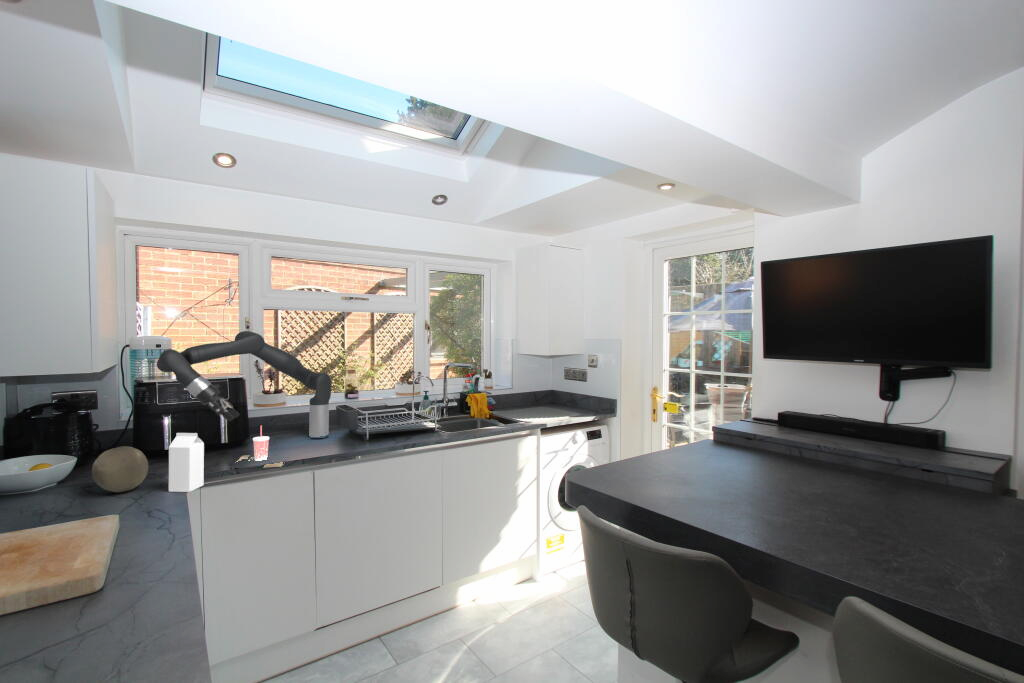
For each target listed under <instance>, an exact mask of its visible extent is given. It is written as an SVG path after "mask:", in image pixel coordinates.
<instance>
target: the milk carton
mask: <svg viewBox="0 0 1024 683" xmlns="http://www.w3.org/2000/svg"><path fill="white" fill-rule="evenodd" d="M204 456H205V443H204V441H203V440H202V439H201V438H200V437H199V436H198V433H197V432H176V436H175V438H174V439H173V440H172V442H171V443H170V445H169V446H168V492H171V493H172V492H173V493H174V492H175V493H190V492H192V491H194V490H196V489H199V488H200V487H201V488H202V487H203V486H204V480H205V477H204V476H205V474H204V472H205V470H204V468H205V463H204V462H205V460H204V459H205V458H204Z"/></svg>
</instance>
